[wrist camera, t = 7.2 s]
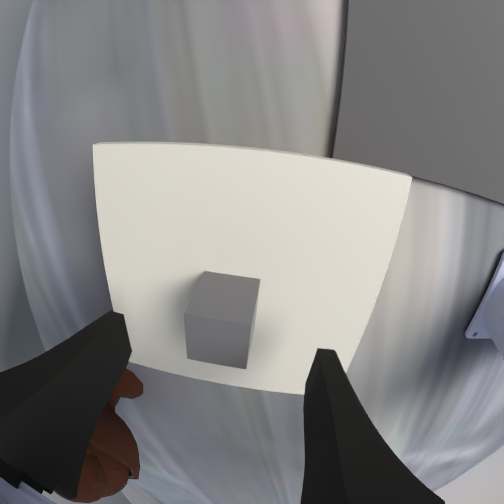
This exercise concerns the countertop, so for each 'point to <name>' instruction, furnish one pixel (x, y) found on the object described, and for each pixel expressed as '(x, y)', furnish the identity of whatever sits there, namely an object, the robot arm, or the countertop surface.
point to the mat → (425, 91)
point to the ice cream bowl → (110, 448)
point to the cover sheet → (243, 256)
